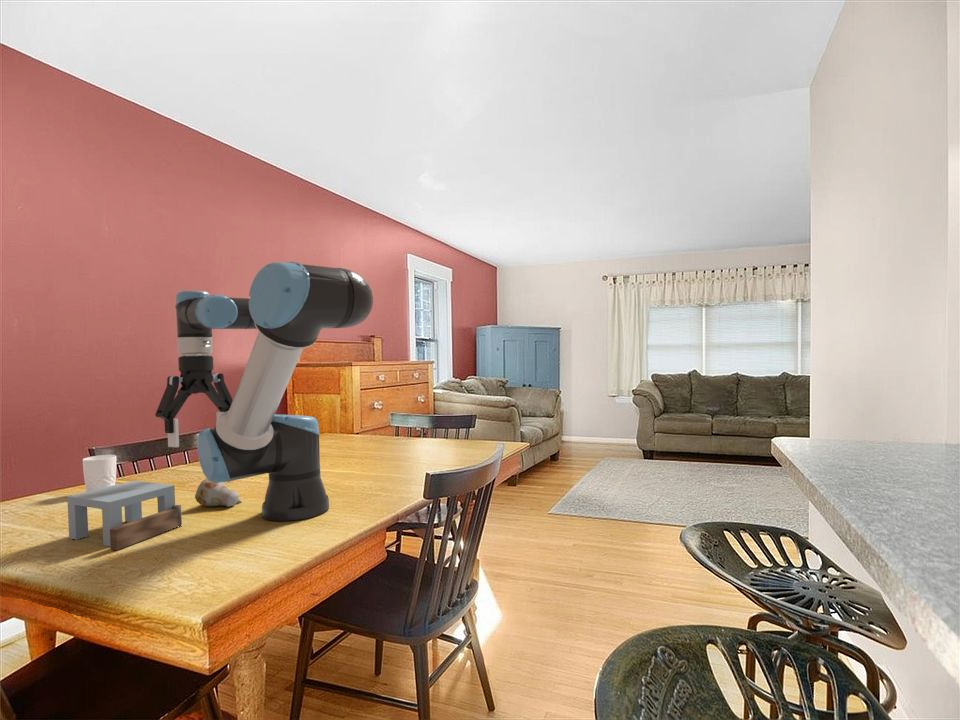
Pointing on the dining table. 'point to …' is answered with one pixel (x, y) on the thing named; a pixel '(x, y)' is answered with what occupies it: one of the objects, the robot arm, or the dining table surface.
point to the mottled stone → (216, 494)
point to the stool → (115, 505)
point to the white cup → (99, 471)
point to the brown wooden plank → (145, 528)
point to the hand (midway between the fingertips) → (199, 441)
